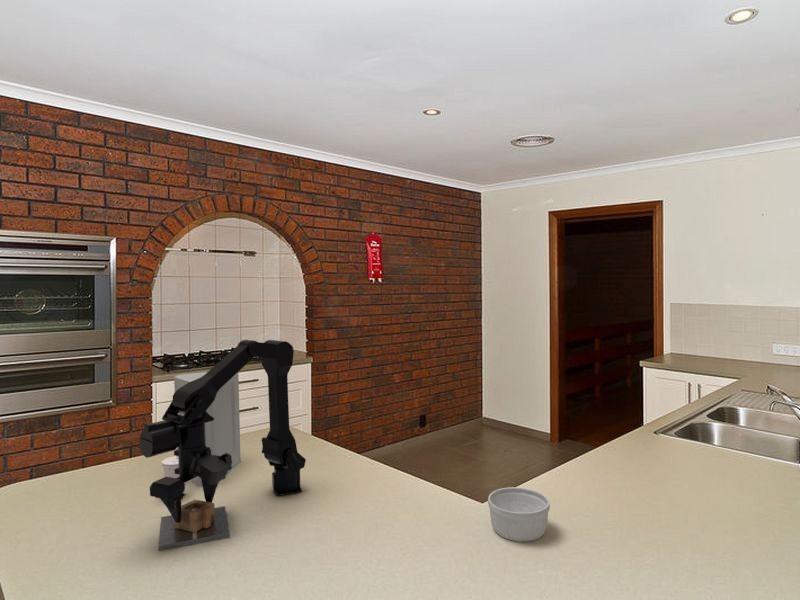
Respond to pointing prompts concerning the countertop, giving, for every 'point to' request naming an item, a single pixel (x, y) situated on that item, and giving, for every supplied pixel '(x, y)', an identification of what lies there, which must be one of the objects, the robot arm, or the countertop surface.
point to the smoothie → (171, 467)
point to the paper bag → (220, 419)
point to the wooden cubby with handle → (196, 516)
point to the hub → (180, 537)
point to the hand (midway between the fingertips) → (194, 513)
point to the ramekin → (518, 513)
